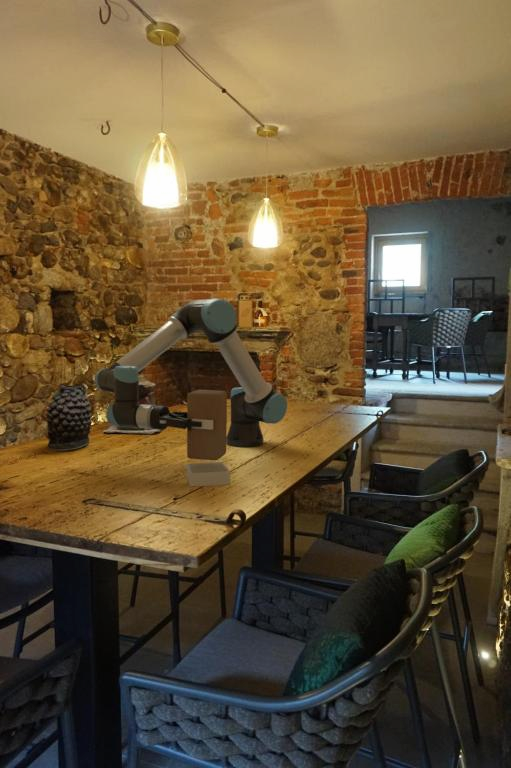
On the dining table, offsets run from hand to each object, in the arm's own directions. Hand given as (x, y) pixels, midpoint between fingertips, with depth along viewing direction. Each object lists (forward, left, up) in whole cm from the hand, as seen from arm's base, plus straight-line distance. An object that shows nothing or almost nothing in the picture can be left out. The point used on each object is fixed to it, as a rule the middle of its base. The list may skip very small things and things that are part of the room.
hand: (219, 421), depth 166 cm
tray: (+3, -2, -18) cm, 19 cm away
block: (+4, -2, -11) cm, 12 cm away
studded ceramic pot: (+49, -57, -19) cm, 78 cm away
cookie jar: (+24, -91, -19) cm, 96 cm away
